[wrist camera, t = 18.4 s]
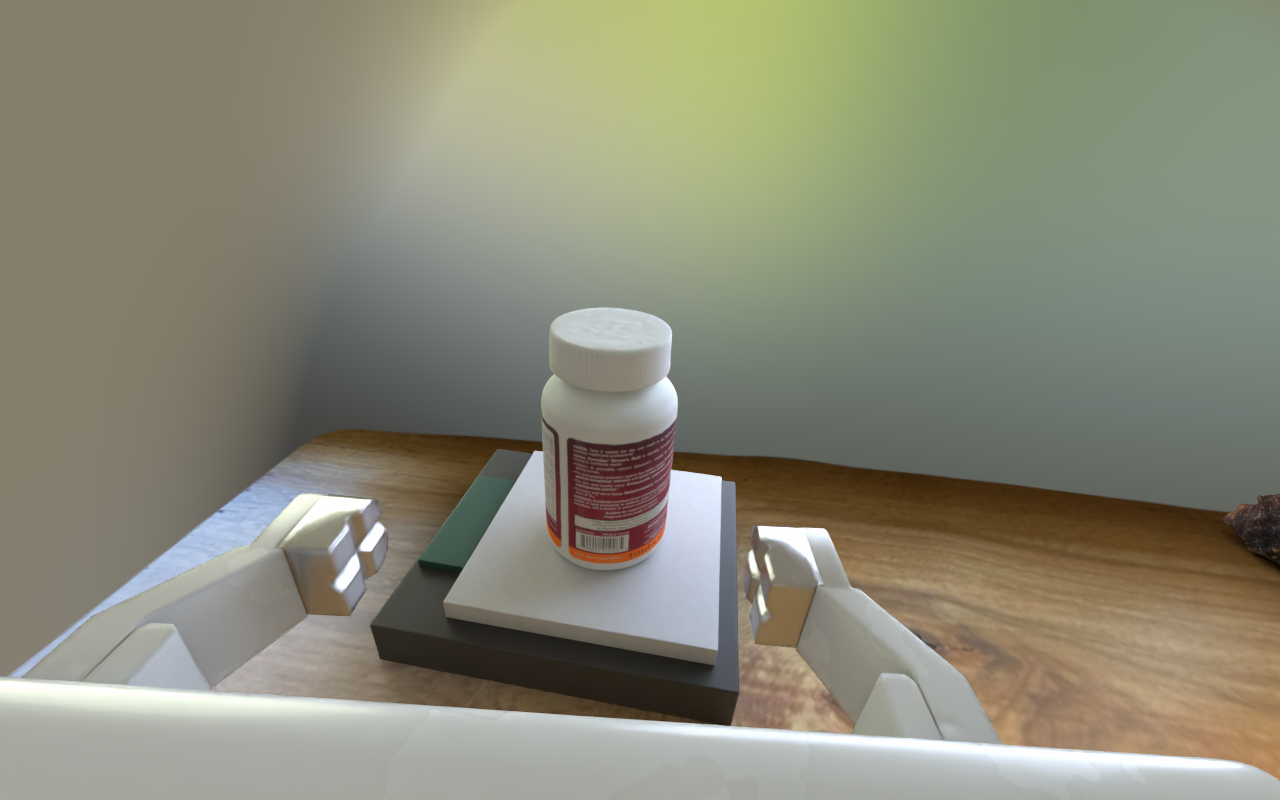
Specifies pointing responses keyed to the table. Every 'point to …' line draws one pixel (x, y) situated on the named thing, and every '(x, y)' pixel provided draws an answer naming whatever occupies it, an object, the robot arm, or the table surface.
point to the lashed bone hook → (1259, 526)
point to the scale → (576, 600)
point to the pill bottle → (608, 436)
